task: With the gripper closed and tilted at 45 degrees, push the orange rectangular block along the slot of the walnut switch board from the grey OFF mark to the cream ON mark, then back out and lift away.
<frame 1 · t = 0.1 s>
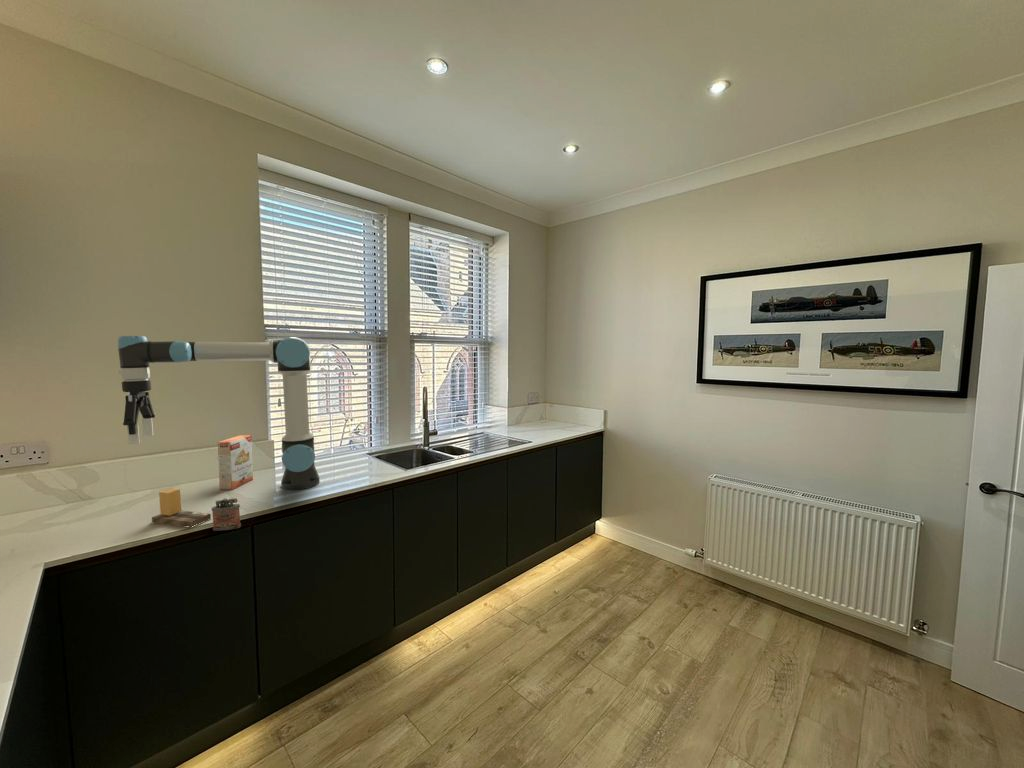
hand: (141, 439, 145), 28 cm above the worktop, tool pointing down, fingers open, 13 cm apart
orange rectangular block: (170, 501, 143), point 6 cm above the worktop, slide at 0.0 cm
cracker box: (237, 485, 181), on the worktop
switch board: (181, 520, 143), on the worktop
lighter: (227, 528, 138), on the worktop
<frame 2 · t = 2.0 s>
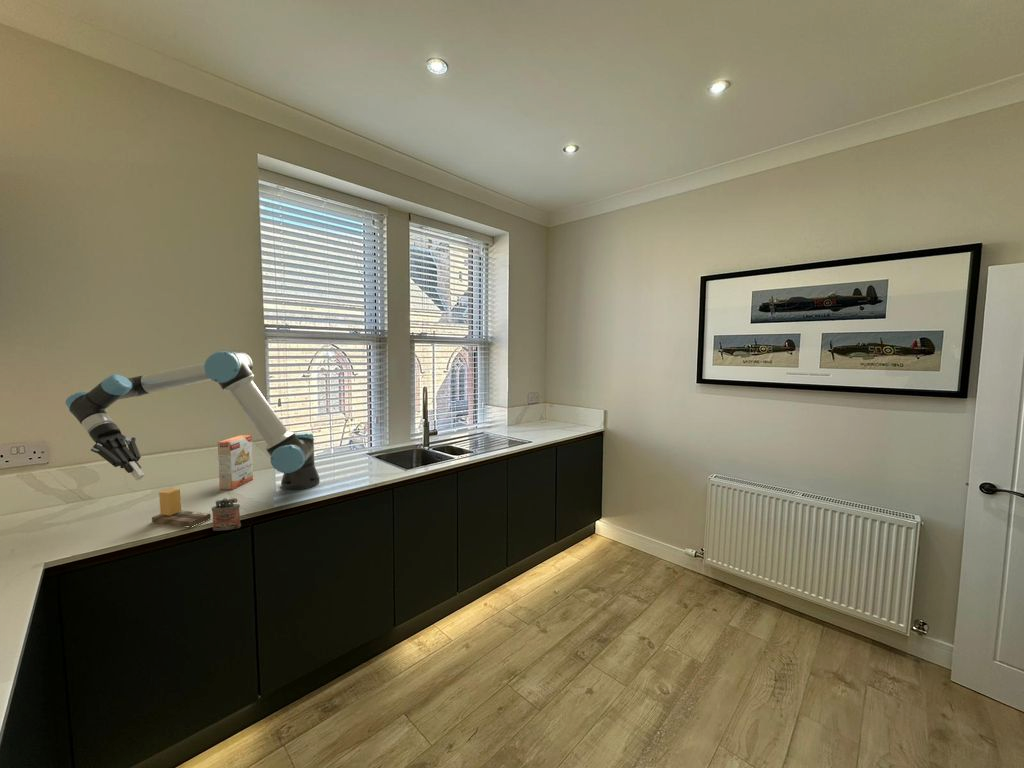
hand: (140, 477, 145), 14 cm above the worktop, tool tilted 45°, fingers closed
nothing on the worktop moved.
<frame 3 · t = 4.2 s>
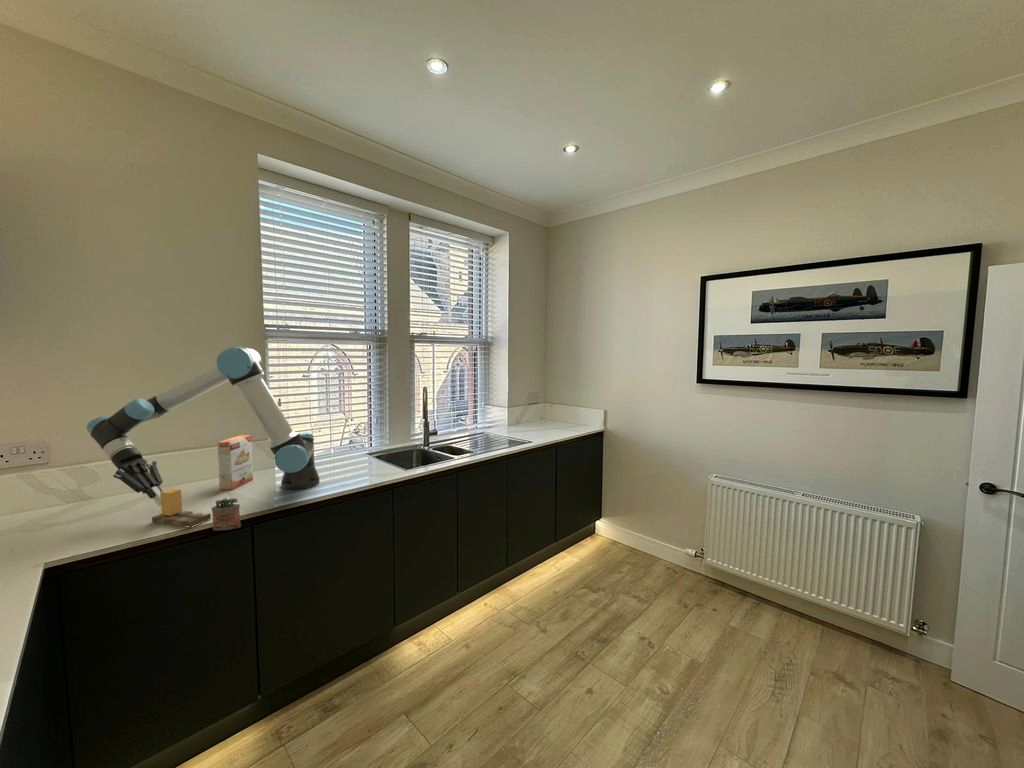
hand: (163, 502, 144), 6 cm above the worktop, tool tilted 45°, fingers closed
orange rectangular block: (171, 501, 143), point 6 cm above the worktop, slide at 0.5 cm, touching gripper
everything else where it was.
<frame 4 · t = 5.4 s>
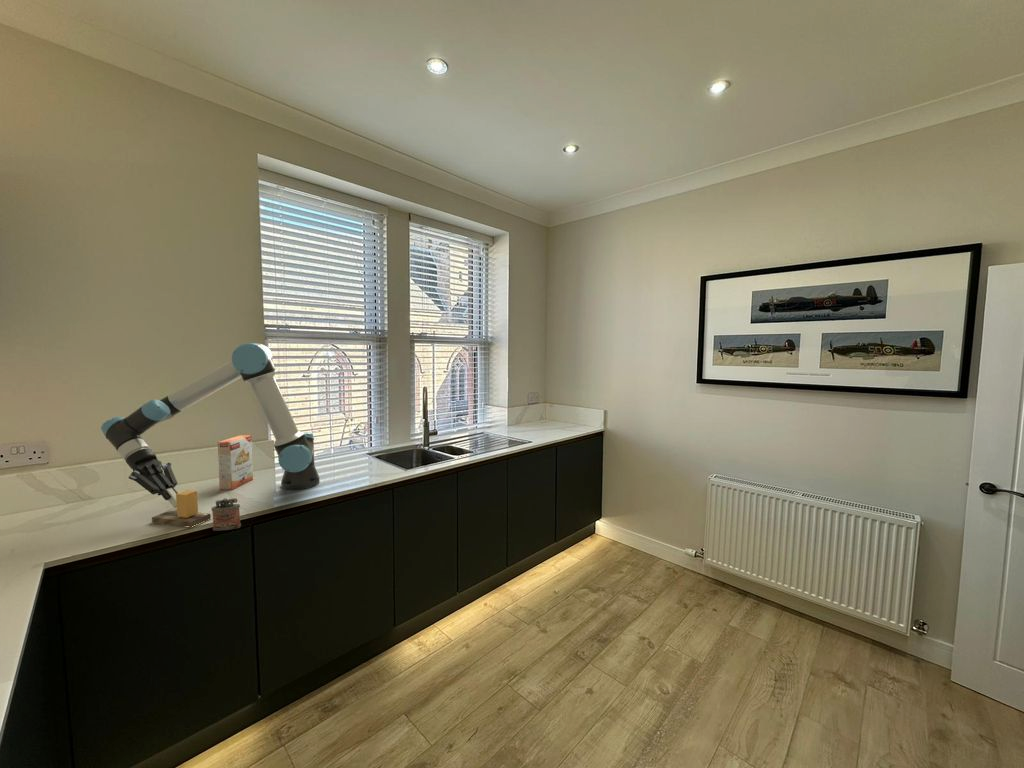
hand: (178, 504, 142), 6 cm above the worktop, tool tilted 45°, fingers closed
orange rectangular block: (187, 503, 142), point 6 cm above the worktop, slide at 7.4 cm, touching gripper
everything else where it was.
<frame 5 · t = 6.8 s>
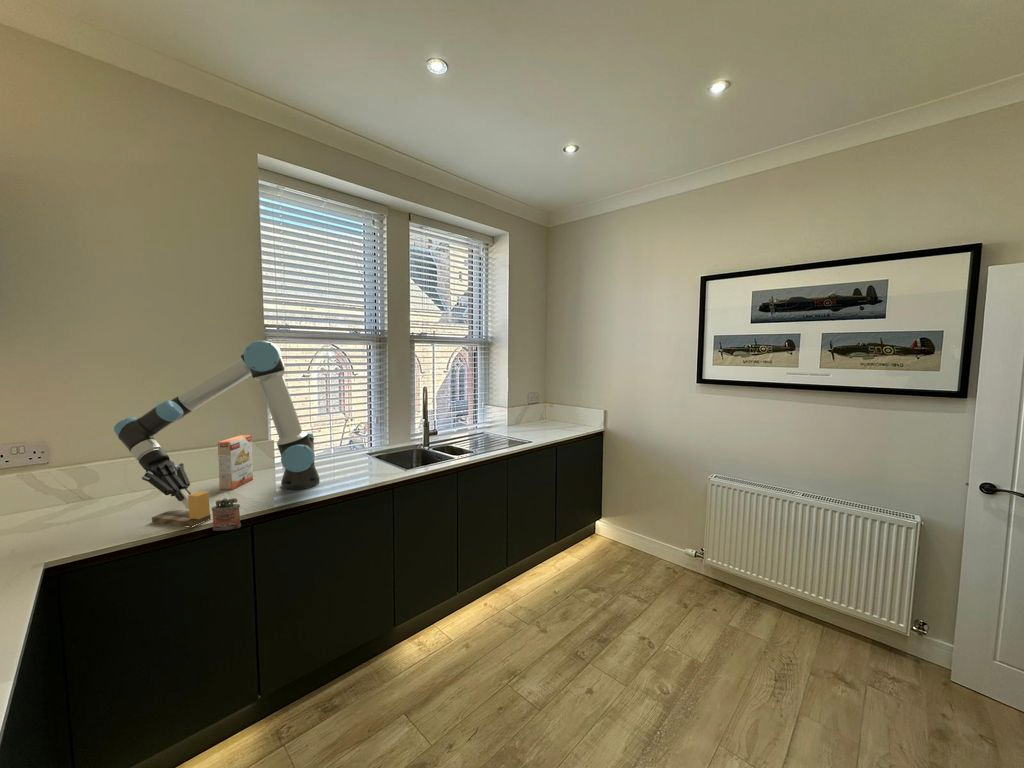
hand: (191, 505, 141), 6 cm above the worktop, tool tilted 45°, fingers closed
orange rectangular block: (199, 505, 141), point 6 cm above the worktop, slide at 12.6 cm, touching gripper
everything else where it was.
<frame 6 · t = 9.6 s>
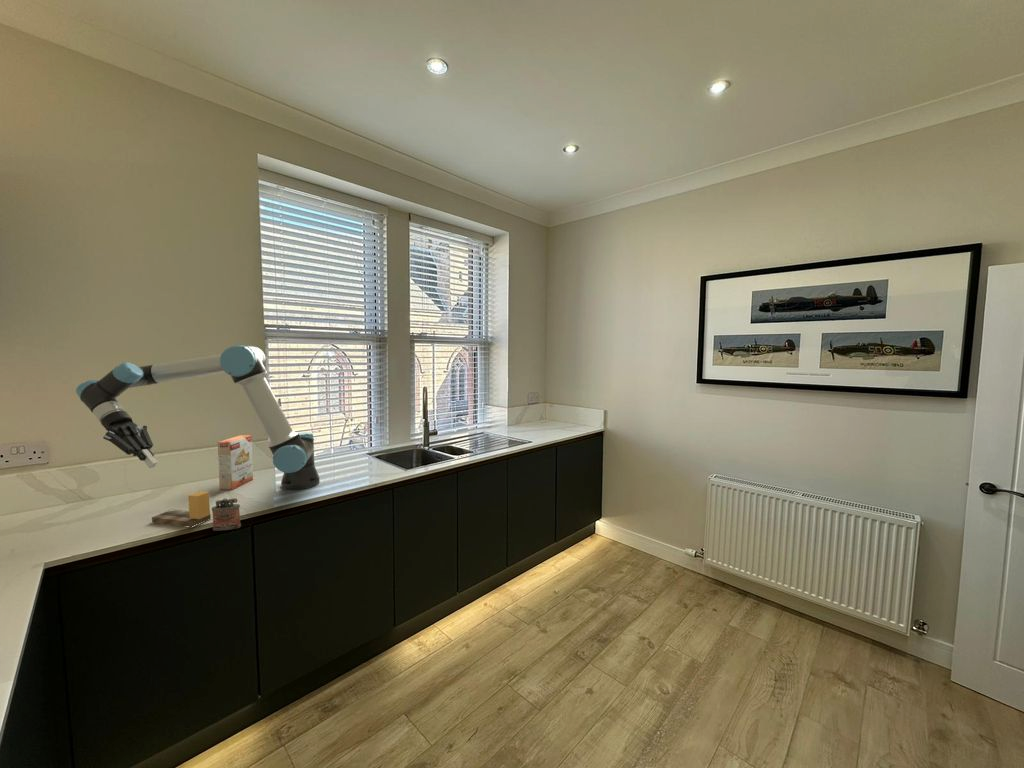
hand: (153, 465, 144), 19 cm above the worktop, tool tilted 45°, fingers closed
orange rectangular block: (199, 505, 141), point 6 cm above the worktop, slide at 12.7 cm
everything else where it was.
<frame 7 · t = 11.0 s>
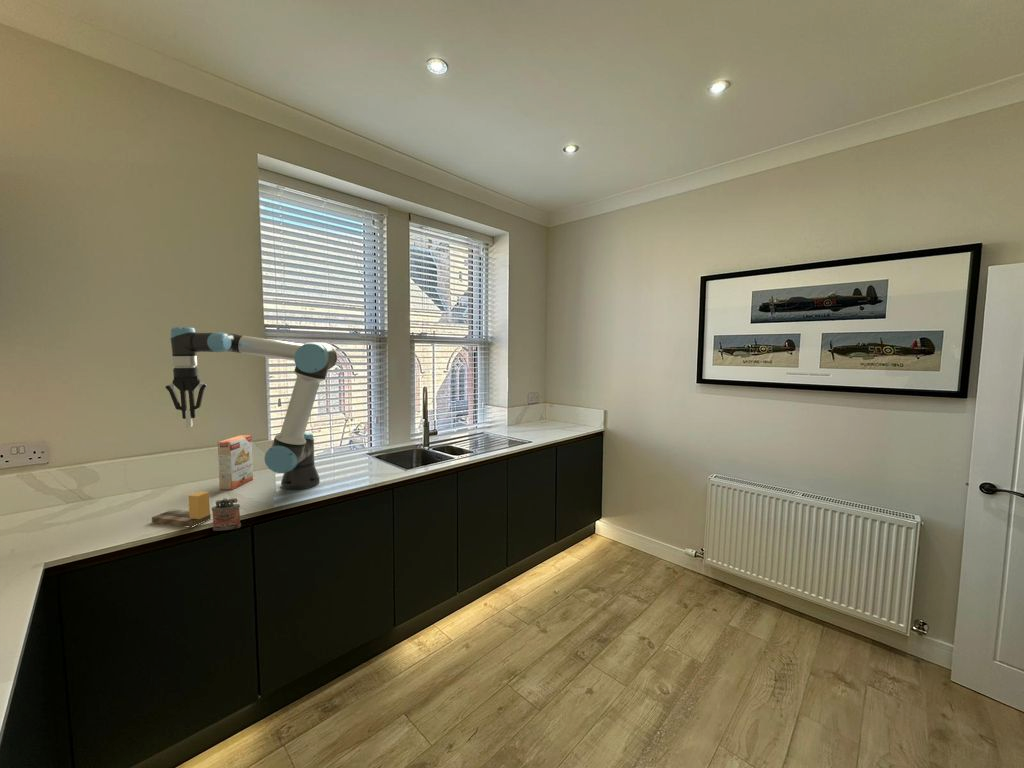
hand: (189, 426, 162), 29 cm above the worktop, tool pointing down, fingers closed
nothing on the worktop moved.
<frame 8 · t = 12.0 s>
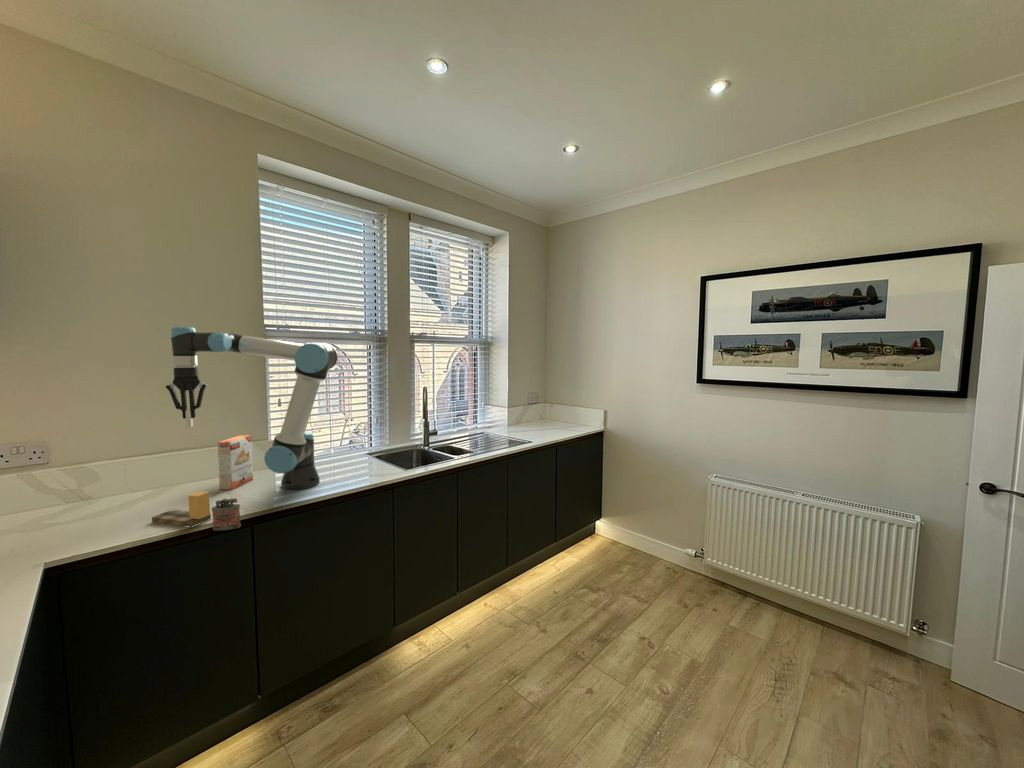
hand: (189, 426, 162), 29 cm above the worktop, tool pointing down, fingers closed
nothing on the worktop moved.
at the end: orange rectangular block slide at 12.7 cm; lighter moved 0.2 cm from its start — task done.
